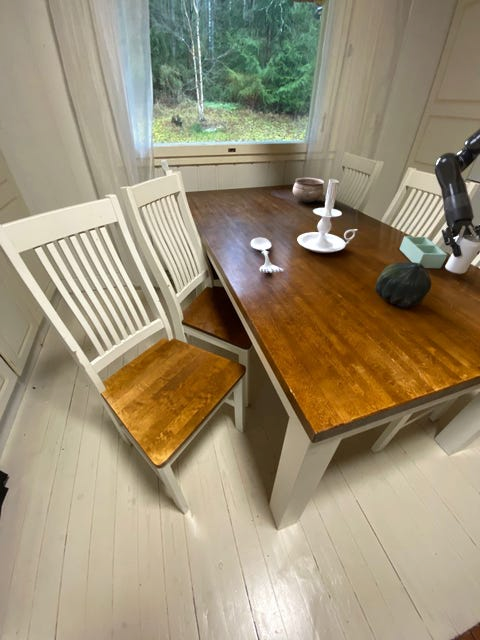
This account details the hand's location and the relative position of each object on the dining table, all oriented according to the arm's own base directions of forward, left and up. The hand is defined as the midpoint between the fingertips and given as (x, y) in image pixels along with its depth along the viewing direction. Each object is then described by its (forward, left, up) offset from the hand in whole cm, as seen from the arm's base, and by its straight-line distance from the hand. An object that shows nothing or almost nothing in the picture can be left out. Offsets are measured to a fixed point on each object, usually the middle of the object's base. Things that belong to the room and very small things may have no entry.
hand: (467, 255), depth 94 cm
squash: (+26, +15, -10) cm, 32 cm away
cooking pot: (+40, -95, -10) cm, 104 cm away
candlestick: (+42, -24, -10) cm, 50 cm away
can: (0, -1, -6) cm, 7 cm away
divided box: (+4, -17, -10) cm, 20 cm away
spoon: (+69, -12, -10) cm, 71 cm away
